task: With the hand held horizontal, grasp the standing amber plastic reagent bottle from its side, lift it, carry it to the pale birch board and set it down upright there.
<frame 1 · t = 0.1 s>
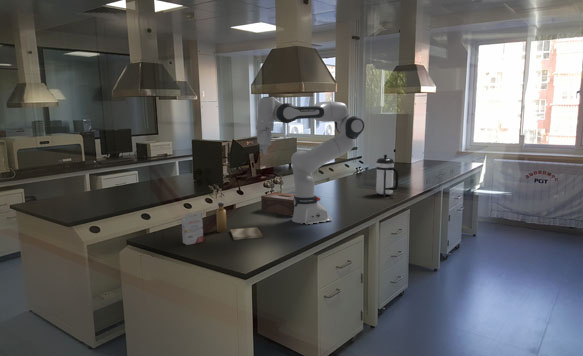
hand: (263, 153, 214), 39 cm above the worktop, tool pointing down, fingers open, 8 cm apart
reagent bottle: (221, 230, 207), on the worktop
ink cartridge box: (193, 242, 189), on the worktop
coffee press: (385, 195, 296), on the worktop
tissue box cover: (285, 212, 248), on the worktop
birch board: (246, 234, 201), on the worktop
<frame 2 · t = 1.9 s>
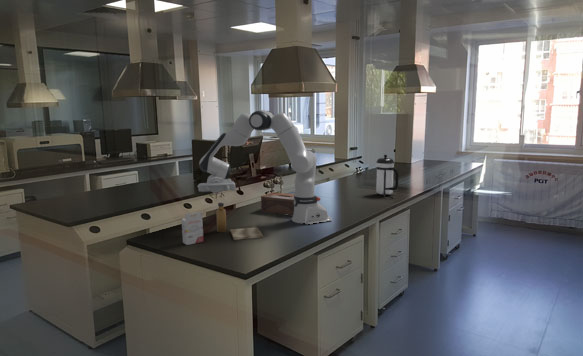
hand: (218, 189, 216), 20 cm above the worktop, tool horizontal, fingers open, 8 cm apart
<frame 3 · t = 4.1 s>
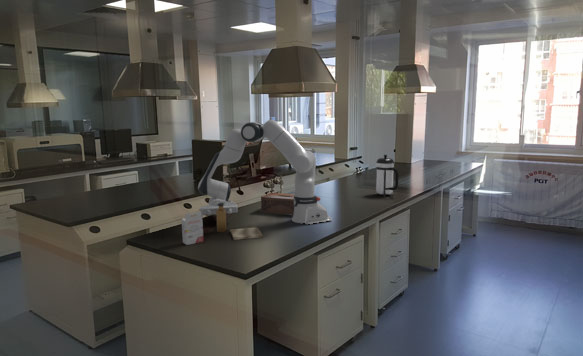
hand: (220, 212, 213), 8 cm above the worktop, tool horizontal, fingers open, 8 cm apart
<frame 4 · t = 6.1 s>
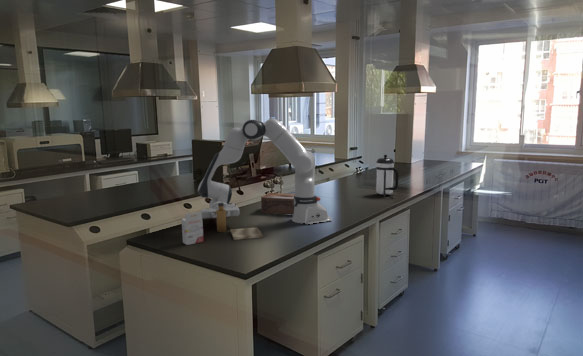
hand: (221, 216, 205), 8 cm above the worktop, tool horizontal, fingers closed on reagent bottle, 5 cm apart
reagent bottle: (221, 230, 207), on the worktop, touching gripper
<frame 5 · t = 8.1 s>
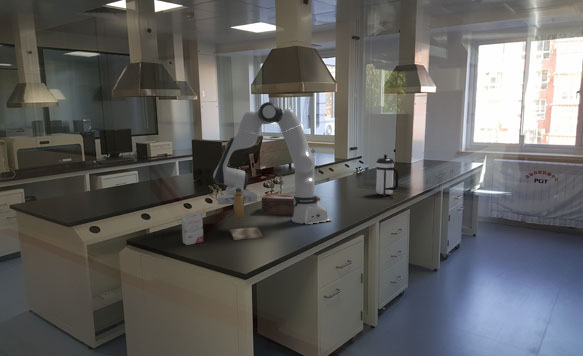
hand: (239, 201, 199), 16 cm above the worktop, tool horizontal, fingers closed on reagent bottle, 5 cm apart
reagent bottle: (239, 217, 201), point 8 cm above the worktop, touching gripper
when the fingers open (11 cm above the worktop, at t = 10.3 s): reagent bottle drops 1 cm, resting on birch board.
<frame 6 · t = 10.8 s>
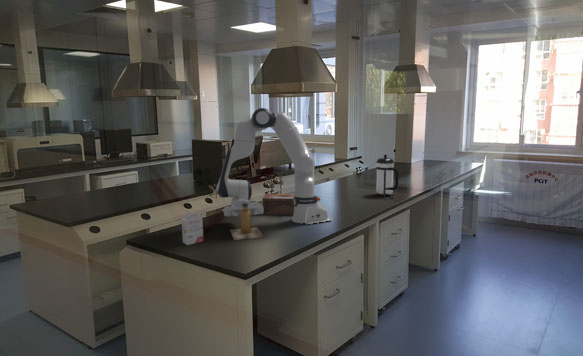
hand: (245, 214, 198), 11 cm above the worktop, tool horizontal, fingers open, 8 cm apart
reagent bottle: (246, 232, 201), point 1 cm above the worktop, touching birch board
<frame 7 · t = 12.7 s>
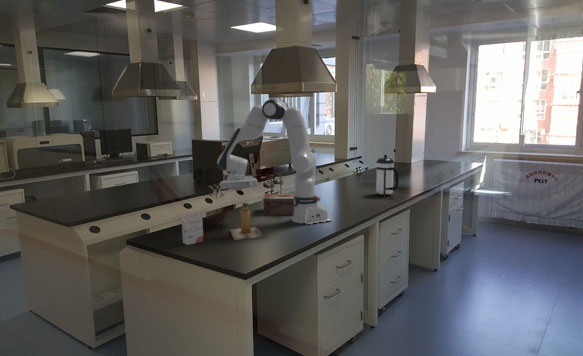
hand: (240, 185, 212), 22 cm above the worktop, tool horizontal, fingers open, 8 cm apart
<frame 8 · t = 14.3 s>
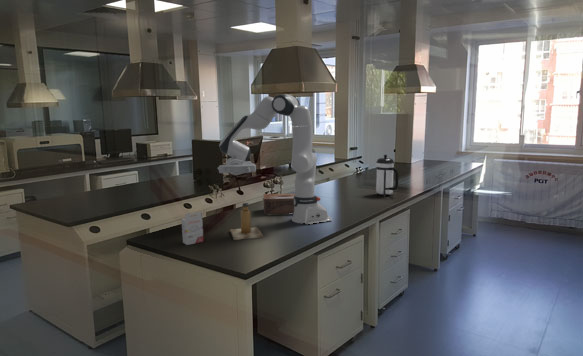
hand: (239, 170, 213), 30 cm above the worktop, tool horizontal, fingers open, 8 cm apart
at the end: reagent bottle inside the target area on the birch board (0.0 cm from its centre), point 1.2 cm above the birch board's base; reagent bottle tilted 0°; the gripper is holding nothing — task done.
